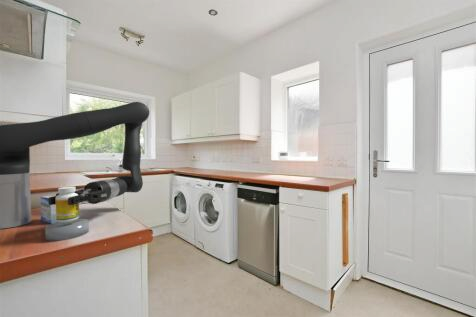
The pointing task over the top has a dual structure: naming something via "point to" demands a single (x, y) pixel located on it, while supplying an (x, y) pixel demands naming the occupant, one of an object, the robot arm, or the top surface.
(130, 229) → the top surface
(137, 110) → the robot arm
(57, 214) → the supplement bottle
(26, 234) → the top surface
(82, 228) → the plinth
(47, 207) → the medicine box
